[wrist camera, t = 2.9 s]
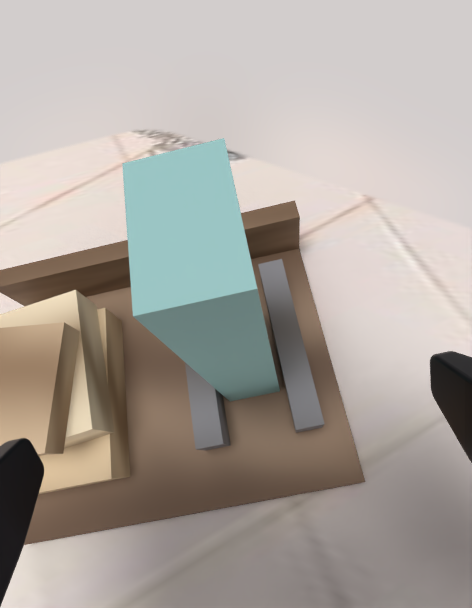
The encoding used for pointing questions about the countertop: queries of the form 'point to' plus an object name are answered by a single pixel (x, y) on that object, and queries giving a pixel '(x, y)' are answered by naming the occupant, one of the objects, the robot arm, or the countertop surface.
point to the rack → (163, 395)
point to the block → (197, 268)
